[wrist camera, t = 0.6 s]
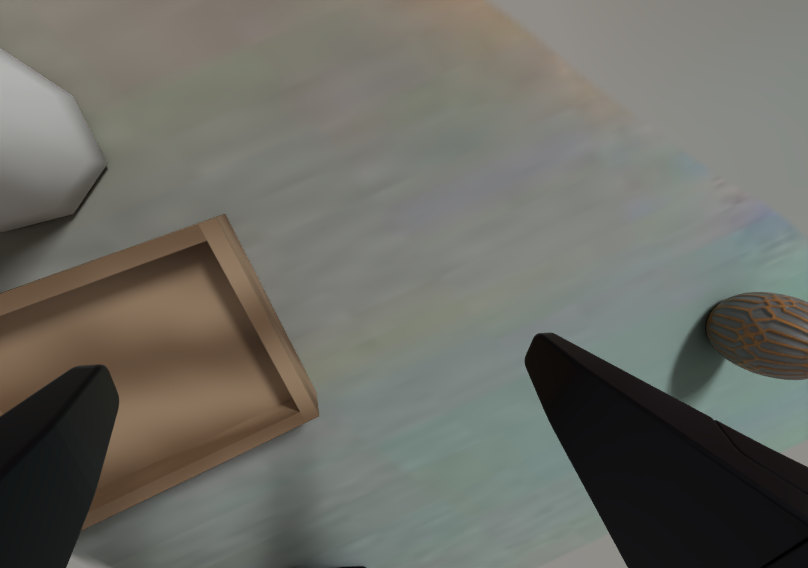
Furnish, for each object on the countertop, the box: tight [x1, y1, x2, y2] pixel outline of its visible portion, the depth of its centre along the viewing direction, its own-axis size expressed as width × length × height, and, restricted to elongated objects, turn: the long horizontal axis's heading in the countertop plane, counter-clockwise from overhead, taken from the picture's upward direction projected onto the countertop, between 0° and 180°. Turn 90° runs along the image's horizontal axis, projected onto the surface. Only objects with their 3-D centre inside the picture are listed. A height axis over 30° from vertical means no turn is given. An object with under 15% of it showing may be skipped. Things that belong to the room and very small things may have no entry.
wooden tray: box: [0, 214, 319, 531], centre depth 18 cm, size 12×14×2 cm
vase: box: [706, 292, 808, 380], centre depth 29 cm, size 7×7×9 cm
